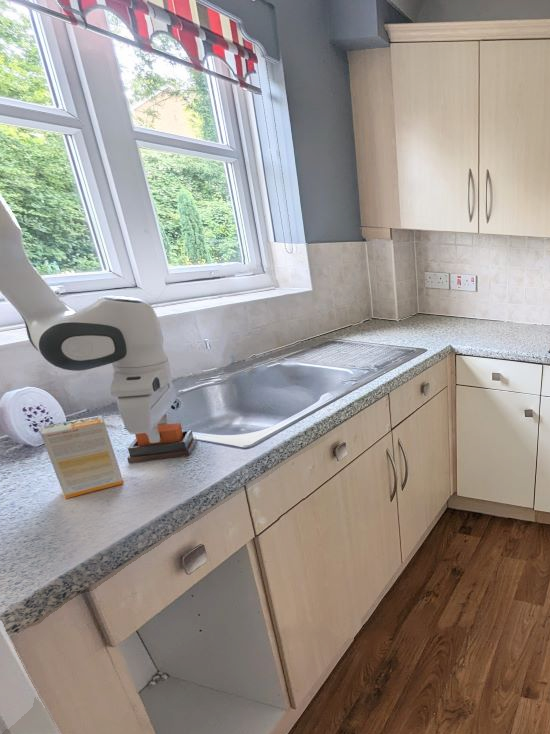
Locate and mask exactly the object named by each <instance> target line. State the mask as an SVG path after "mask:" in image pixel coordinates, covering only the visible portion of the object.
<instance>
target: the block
mask: <svg viewBox="0 0 550 734" xmlns="http://www.w3.org/2000/svg"><path fill="white" fill-rule="evenodd" d="M157 429H158V431H159V432H161V436H162V439H161V440H160V442H157V443H151V442H150V441H149V438H148V435H147V434H146V433H141V434H134V436H135V439H137V443H138V446H144V445H153V444H162V443H170V442H179V441H182V439H183V437H184V436H183V432H182V431H183V427H182V424H181V422H178V423H168V424H166V425H158V427H157Z"/></svg>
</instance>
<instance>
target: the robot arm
mask: <svg viewBox="0 0 550 734" xmlns="http://www.w3.org/2000/svg"><path fill="white" fill-rule="evenodd" d="M0 293H1V294H2V296H4V298H5V299H6V300H7V301H8V302H9V303H10V304H11V306H13V307H14V309H15V310H16V311H17V312H18V314H19V315H20V317H21V318H22V320H23V322H24V325H25V330H26V331H25V332H26V334H27V338H28V341H29V342H30V344H31V345H32V347H33V348H34V349H35V350H36V351H37V352H39V353H40V355H41V356H42V357H43V358H44V359H45V361H47V362H48V363H50V365H53V366H54V367H56V368H59V369H62V370H66V371H71V372H73V371H74V372H77V371H78V372H79V371H86V370H91V369H96V368H100V367H103V366H107V365H110V364H111V366H112V369H113V379H112V383H111V384H110V386H109V392H110V395H111V397H112V398H116V405H117V409H118V413H119V415H120V418H121V421H122V423H123V426H124V428H125V430H126V431H127V432H128V433H129V434H130V435H135V434H141V433H146V434H147V435H148V438H149V441H150V442H151V443H157V442H160V440H161V439H162V436H161V432H159V431H158V429H157V427H158V425H166V424H169V423H168V422H169V413H168V412H169V410H170V409H171V407H172V406H173V405H174V403H175V402H176V392H175V387H174V385H173V379H174V378H173V375H172V371H171V365H170V362H169V358H168V356H167V354H166V352H165V350H164V347H163V345H164V336H163V332H162V329H161V325H160V321H159V319H158V316H157V314H156V311H155V309H154V307H153V306H152V304H150V303H148V302H147V301H145V300H143V299H141V298H137V297H131V296H126V295H125V296H124V295H104V296H100V297H99V298H98V299H97V300H96V301H94V302H93V303H91V304H90V305H88V306H86V307H84V308H82V309H79V310H78V311H77V310H75V309H73V308H71V306H69V305H67V304H66V303H65V302H64V301H63V300H62V299H61V298H60V297H59V296H58V294H56V292H55V291H54V289H52V287H51V286H50V285H49V284H48V282H47V281H46V280H45V279H44V278H43V276H42V275H41V274H40V273H39V272H38V270H37V269H36V268H35V266H34V265H33V264H32V261H31V260H30V259H29V256H28V254H27V252H26V250H25V245H24V240H23V231H22V228H21V227H20V224H19V222H18V220H17V218H16V217H15V215H14V213H13V211H12V210H11V208H10V207H9V205H8V204H7V202H6V200H5V199H4V197H2V195H1V194H0Z"/></svg>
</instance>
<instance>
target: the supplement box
mask: <svg viewBox="0 0 550 734" xmlns="http://www.w3.org/2000/svg"><path fill="white" fill-rule="evenodd" d="M108 431H109V430H108V428H107V425H106V422H105V420H104V418H103V415H102V414H99V415H94V416H90V417H83V418H78V419H73V420H67V421H61V422H56V423H50V424H45V425H41V426H40V436H41V439H42V441H43V443H44V446H45V449H46V452H47V455H48V456H49V460H50V462H51V465H52V467H53V470H54V472H55V476H56V478H57V481H58V484H59V486H60V489H61V491H62V493H63V495H64V498H65V499H69V498H70V499H71V498H73V497H77V496H81V495H85V494H88V493H93V492H97V491H100V490H104V489H109V488H111V487H116V486H119V485H123V484H124V480H123V476H122V473H121V470H120V466H119V463H118V459H117V457H116V454H115V451H114V448H113V444H112V441H111V438H110V434H109V432H108Z"/></svg>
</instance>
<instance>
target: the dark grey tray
mask: <svg viewBox="0 0 550 734" xmlns="http://www.w3.org/2000/svg"><path fill="white" fill-rule="evenodd" d="M182 432H183V436H184V437H183V439H182V441H179V442H170V443H162V444H153V445H144V446H138V443H137V439H136V438H135V439H134V440H133V441H132V442H131V444H130V445H129V446H128V447H127V450H128V456H127V463H128V464H133V463H141V462H148V461H159V460H164V459H165V460H166V459H173V458H181V457H189V456H191V453H192V452H193V450H194V448H195V446H196V444H197V442H198V441H197V440H198V439H197V437H196V436H194V434H193V430H192V429H187V430H182Z"/></svg>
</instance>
